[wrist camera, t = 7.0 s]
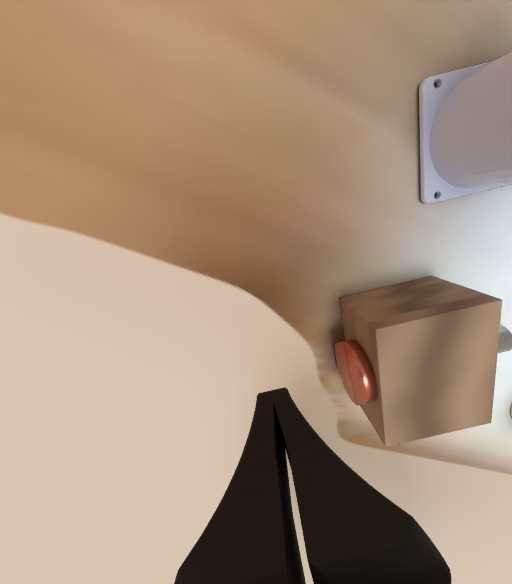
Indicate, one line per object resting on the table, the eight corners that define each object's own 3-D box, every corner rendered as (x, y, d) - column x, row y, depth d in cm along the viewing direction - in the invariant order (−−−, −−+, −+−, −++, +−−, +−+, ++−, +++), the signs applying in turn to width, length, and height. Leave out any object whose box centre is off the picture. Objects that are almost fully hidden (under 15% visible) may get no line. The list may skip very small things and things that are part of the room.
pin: (474, 298, 21) (537, 322, 17) (471, 347, 23) (529, 381, 18) (332, 332, 22) (356, 365, 17) (338, 378, 23) (363, 420, 18)
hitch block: (431, 275, 21) (502, 299, 16) (432, 373, 24) (491, 422, 19) (339, 297, 21) (375, 329, 16) (351, 392, 25) (385, 446, 19)
